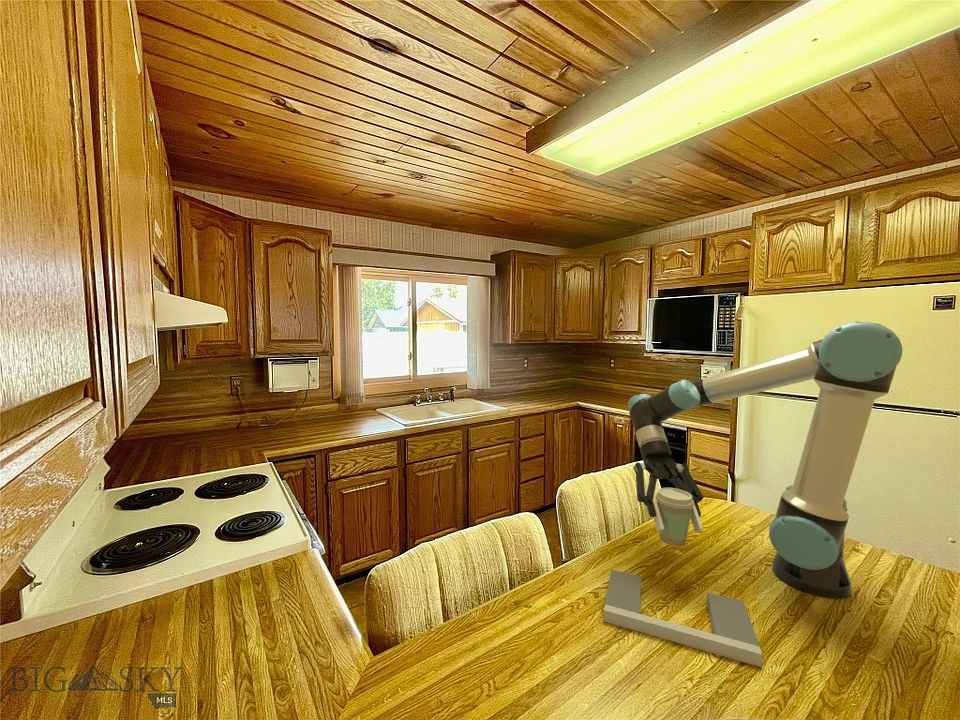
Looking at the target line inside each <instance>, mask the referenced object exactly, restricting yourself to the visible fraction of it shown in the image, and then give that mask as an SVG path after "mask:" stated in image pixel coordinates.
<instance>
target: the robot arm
mask: <svg viewBox="0 0 960 720" xmlns="http://www.w3.org/2000/svg"><path fill="white" fill-rule="evenodd" d="M902 355H903V346H902V343H901V341H900V338H899V337H898V335H897V334H896V333H895V332H894V331H892V329H889V328H888V327H886V326H884V325H883V324H881V323H880V324H879V323H876V322H869V321H852V322H847V323H844V324H841V325H838V326H837V327H835V328H833V329H832V330H830V331H829V332H827V333H826V335H825V336H824V338H823V339H819V340H816V341H812V342H811V343H810V344H809V345H808V347H807V348H803V349H801V350H797V351H792V352H789V353H787V354H782V355H780V356H777V357H773V358H769V359H766V360H762V361H759V362H755V363H752V364H747V365H746V366H741V367H739V368H734V369H731V370H728V371H725V372H720V373H717V374H713V375H711V376H708V377H704V378H701V379H697V380H694V381H689V380H687V379H681V380H679V381H677V382H675V383H674V382H673V383H672V384H670V386H668V387H666V388H663V389H662V390H661V391H659V392H657V393H656V394H654V395H650V394H647V393H640V394H638V395H636V394H635V395H633V396H632V397H631V398H630V399H629V400H628V402H627V407H628V408H627V409H628V412H629V413H628V414H629V417H630V418H631V422H632V425H633V428H634V432H635V437H636V441H637V444H638V447H639V452H640V454H641V457H642V460H643V463H642V462H639V461H637V462H636V463H635V464H634V466H633V471H634V474H635V481H636V499H637V500H636V501H637V502H638V503H643V504H644V506H646V508H647V512H648V515H649V517H650V518H653V521H654V524H655V529H656V532H657V533H659V532H661V531H663V530H664V525H663V522H662V518H661V515H660V511H659V508H658V504H657V500H656V501H654V496H655V492H656V487H657V483H658V482H657V481H658V480H663V479H664V480H667V481H668V482H670V484H672V485H673V486H674V488H676V489H680V490H684V491H686V492H688V493H690V494H691V495H692V498H693V501H694V507H692V513H691V518H690V522H691V524H692V527H693V530H694V532H695V534H696V533H700V532H701V531H703V530H704V528H703V525H702V522H701V519H700V517H701V516H702V512H701V509H700V507H699V503H700V502H701V501H702V500H704V495H703V494H702V491H701V489H699V487H698V485H697V483H696V481H695V479H694V478H693V476H692V474H691V473H690V471H689V466H688V464H687V463H686V462H683V463H682V464H681V463H676V461H675V460H674V458H673V453H672V451H671V448H670V444H669V443H668V438H667V436H666V434H665V430H664V427H663V424H662V423H663V422H664V421H667V420H669V419H671V418H672V417H675V416H677V415H679V414H681V413H683V412H687V411H689V410H692V409H695V408H699V407H704V406H707V405H712V404H715V403H718V402H723V401H727V400H732V399H735V398H740V397H744V396H749V395H752V394H753V395H754V394H758V393H760V392H766V391H768V390H773V389H778V388H781V387H786V386H789V385H795V384H799V383H802V382H803V383H804V382H806V381H807V382H808V381H810V380H813V381H814V382H815V383H816V385H817V386H818V388H819V393H818V396H817V400H816V403H815V407H814V410H813V414H812V417H811V422H810V424H809V428H808V432H807V435H806V439H805V441H804V442H805V443H804V446H803V450H802V452H801V455H800V456H801V457H800V460H799V464H798V468H797V471H796V475H795V478H794V481H793V484H792V485H788V486H787V487H786V488H785V490H784V491H782V493H781V496H780V500H779V503H778V506H777V509H776V514H775V517H774V519H773V520H772V522H771V523H770V524H769V527H768V529H769V531H768V537H769V541H770V544H771V545H772V547H773V548H774V550H775V551H776V552H775V555H774V556H773V557H772V567H771V568H772V569H771V570H772V572H773V573H774V574H775V576H776V577H778V579H780V580H781V581H783V582H784V583H786V584H787V585H790V586H791V587H793V588H795V589H797V590H800V591H802V592H805V593H807V594H810V595H813V596H817V597H822V598H827V599H836V600H838V599H847V598H848V597H850V595H851V593H852V583H851V579H850V575H849V573H848V569H847V568H846V567H847V566H846V564H845V561H844V547H845V534H846V533H845V532H846V528H847V524H848V521H849V518H850V515H849V513H848V508H847V500H846V499H845V497H846V494H847V491H848V489H849V488H848V487H849V484H850V481H851V478H852V475H853V472H854V468H855V465H856V462H857V458H858V455H859V452H860V449H861V447H862V446H861V445H862V442H863V440H864V436H865V432H866V429H867V427H868V424H869V419H870V417H871V413H872V410H873V407H874V404H875V400H877V399H879V398H881V397H885V396H886V395H888V394H889V391H890V388H891V384H892V382H893V378H894V375H895V373H896V369H897V366H898V365H899V363H900V361H901V359H902ZM645 470H646V471H647V473H648V474H649V478H648V485H647V489H646V488H645V474H644V471H645ZM676 470H677V471H676ZM679 474H680V475H679ZM680 476H681V477H680ZM645 490H646V491H645Z"/></svg>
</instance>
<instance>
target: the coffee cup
mask: <svg viewBox="0 0 960 720" xmlns="http://www.w3.org/2000/svg"><path fill="white" fill-rule="evenodd" d="M655 500H656V501H657V504H658V508H659V511H660V515H661V518H662V522H663V525H664V530H663V531H661V532H658V533H659V539H660V540H661V541H662V542H663V543H665V544H666V545H669V546H671V547H683V546H685V545H686V544H687V538H688V533H689V528H690V524H691V523H690V522H691V513H692V507H694V501H693V498H692V495H691V494H690V493H688V492H686V491H684V490H680V489H677V488H676V487H661V488H659V489H658V491H657V493H656V494H655Z"/></svg>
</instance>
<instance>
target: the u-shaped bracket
mask: <svg viewBox="0 0 960 720" xmlns="http://www.w3.org/2000/svg"><path fill="white" fill-rule="evenodd" d="M641 589H642V576H640V575H636V574H632V573H628V572H623V571H619V570H615V569H610V573H609V579H608V586H607V591H606V597H605V602H604V608H603V622H604V623H609V624H610V625H615V626H618V627H622V628H626V629H629V630H631V631H635V632H638V633H643V634H645V635H649V636H653V637H656V638H658V639H663V640H666V641H670V642H673V643H677V644H680V645H684V646H687V647H691V648H694V649H698V650H701V651H705V652H707V653H711V654H715V655H718V656H721V657H724V658H728V659H730V660H735V661H737V662H738V661H739V662H742V663H745V664H749V665H753V666H755V667H758V668H759V667H760V668H762V667H763V666H762V665H763V652H762V650H761V646H760V644H759V642H758V638H757V635H756V632H755V629H754V627H753V625H752V622H751V618H750V615H749V612H748V610H747V607H746V605H745V601H744V600H741V599H736V598H732V597H728V596H725V595H720V594H716V593H712V592H707V593H706V594H707V596H706V606H707V611H708V615H709V619H710V620H709V621H710V624H711V629H712V633H711V632H707V631H703V630H700V629H698V628H697V629H696V628H693V627H689V626H685V625H682V624H679V623H674V622H670V621H667V620H664V619H660V618H656V617H652V616H649V615H646V614H641V594H642V590H641Z"/></svg>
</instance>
